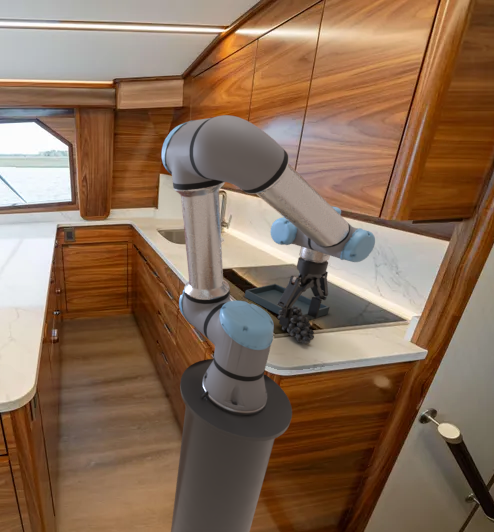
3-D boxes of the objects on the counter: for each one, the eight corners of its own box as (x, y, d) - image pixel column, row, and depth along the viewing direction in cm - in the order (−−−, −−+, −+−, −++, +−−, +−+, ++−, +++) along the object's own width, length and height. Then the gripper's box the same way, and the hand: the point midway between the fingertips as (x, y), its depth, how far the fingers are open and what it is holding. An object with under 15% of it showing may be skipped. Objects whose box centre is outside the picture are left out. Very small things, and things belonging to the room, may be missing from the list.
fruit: (321, 324, 87) (298, 299, 101) (291, 329, 89) (272, 305, 103) (324, 347, 90) (301, 321, 104) (294, 353, 92) (275, 325, 105)
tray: (296, 324, 104) (298, 316, 103) (244, 296, 124) (245, 290, 123) (327, 314, 111) (329, 306, 110) (273, 289, 131) (275, 283, 129)
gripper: (296, 269, 80) (281, 335, 88) (352, 256, 90) (334, 317, 97) (272, 260, 87) (260, 323, 94) (327, 249, 96) (312, 307, 104)
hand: (298, 320), depth 96 cm, fingers open, 13 cm apart
